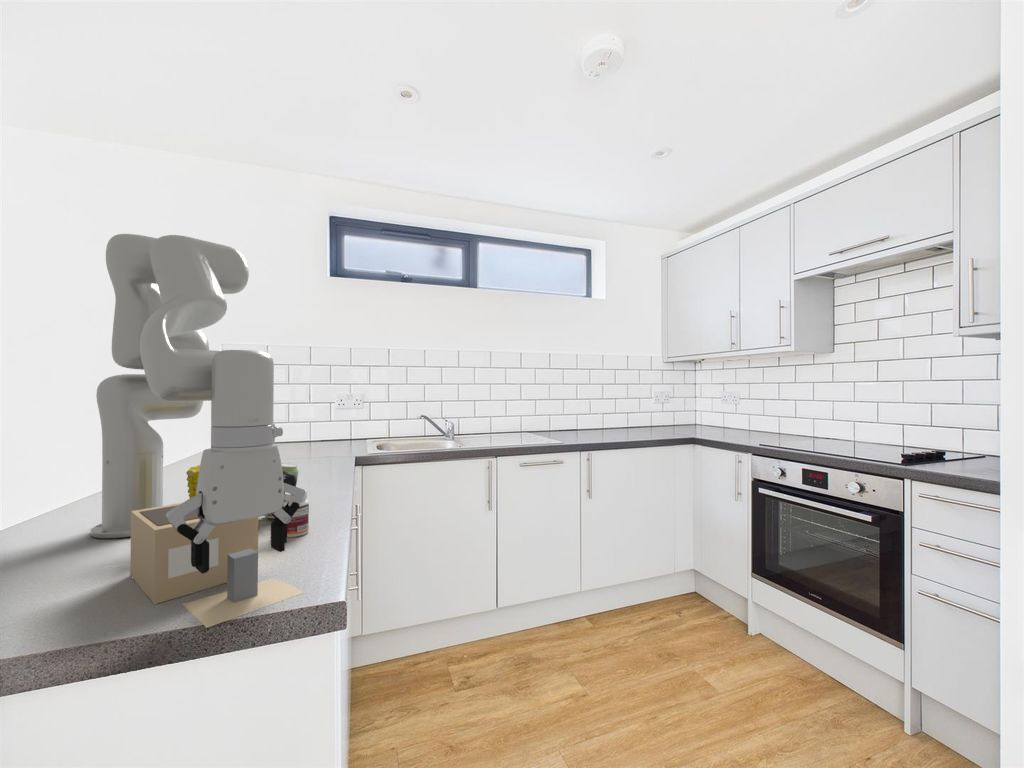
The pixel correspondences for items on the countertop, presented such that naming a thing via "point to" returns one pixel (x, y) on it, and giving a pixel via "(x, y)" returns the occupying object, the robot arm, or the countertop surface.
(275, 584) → the flap
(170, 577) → the carton
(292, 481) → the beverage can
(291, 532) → the pill bottle
